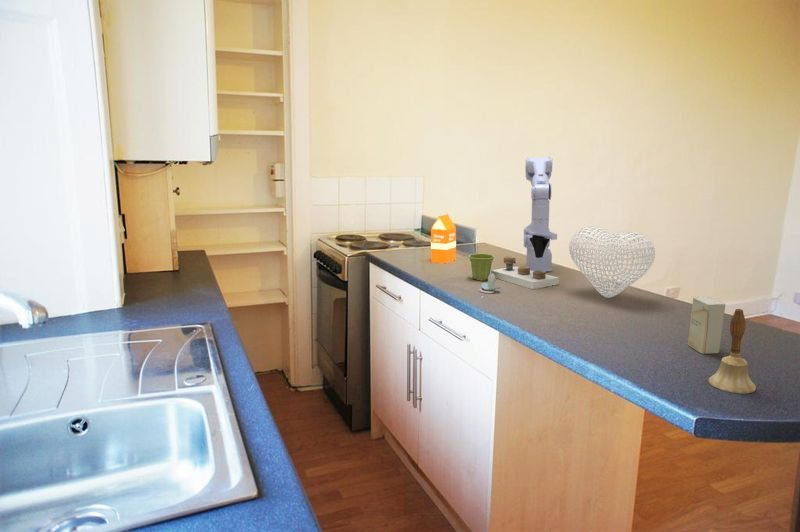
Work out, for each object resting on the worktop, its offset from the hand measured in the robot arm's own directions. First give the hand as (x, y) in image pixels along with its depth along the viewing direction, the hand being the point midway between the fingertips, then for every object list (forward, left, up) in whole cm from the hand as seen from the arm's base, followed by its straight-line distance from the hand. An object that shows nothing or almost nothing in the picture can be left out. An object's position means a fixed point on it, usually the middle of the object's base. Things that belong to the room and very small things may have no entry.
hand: (539, 257), depth 194 cm
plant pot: (+11, -19, -10) cm, 24 cm away
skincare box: (+12, +69, -10) cm, 71 cm away
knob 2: (0, 0, -10) cm, 10 cm away
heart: (-6, +25, -10) cm, 28 cm away
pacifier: (+20, -2, -10) cm, 23 cm away
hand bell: (+26, +84, -10) cm, 88 cm away
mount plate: (0, -8, -10) cm, 13 cm away
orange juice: (+5, -54, -10) cm, 55 cm away
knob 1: (0, -16, -7) cm, 17 cm away
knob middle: (0, -8, -10) cm, 13 cm away
